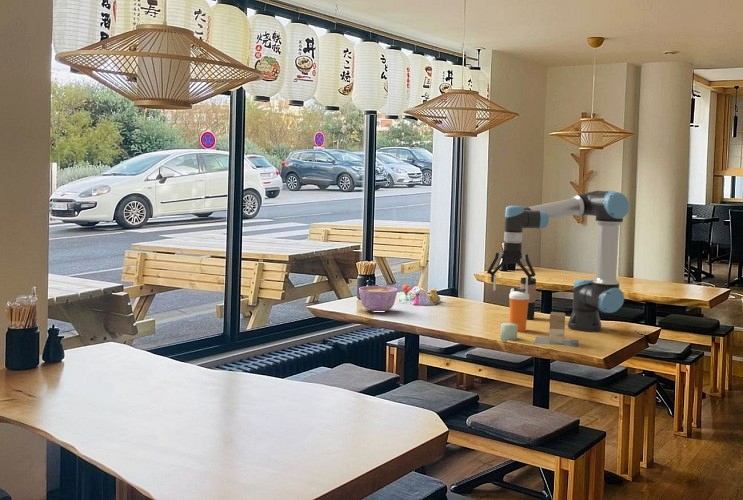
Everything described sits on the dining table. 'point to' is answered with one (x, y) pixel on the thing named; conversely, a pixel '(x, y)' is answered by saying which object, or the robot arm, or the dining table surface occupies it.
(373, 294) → the bowl of food
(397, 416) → the dining table surface
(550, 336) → the block bottom
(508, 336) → the pale green cube
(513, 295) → the shaker bottle
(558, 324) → the block top
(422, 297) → the colourful toy figurine cluster
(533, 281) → the travel mug
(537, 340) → the slate board
